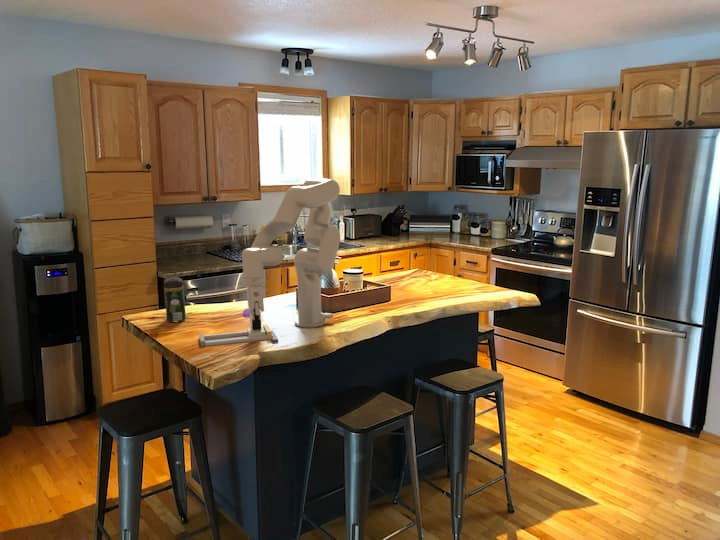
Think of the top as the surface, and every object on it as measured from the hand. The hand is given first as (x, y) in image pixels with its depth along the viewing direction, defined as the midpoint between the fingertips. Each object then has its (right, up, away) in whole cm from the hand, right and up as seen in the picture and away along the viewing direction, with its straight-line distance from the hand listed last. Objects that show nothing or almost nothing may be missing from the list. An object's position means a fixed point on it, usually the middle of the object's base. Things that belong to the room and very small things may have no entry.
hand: (255, 327), depth 224 cm
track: (-6, -5, -1) cm, 8 cm away
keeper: (0, -4, +1) cm, 4 cm away
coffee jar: (-40, 0, +30) cm, 50 cm away
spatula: (-6, 0, +28) cm, 29 cm away
